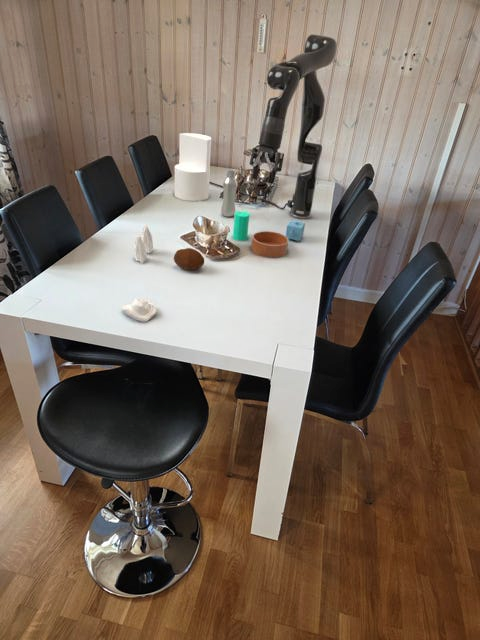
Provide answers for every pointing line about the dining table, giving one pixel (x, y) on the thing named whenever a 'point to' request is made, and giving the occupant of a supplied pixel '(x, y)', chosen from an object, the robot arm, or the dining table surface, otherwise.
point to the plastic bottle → (229, 194)
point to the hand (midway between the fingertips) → (262, 181)
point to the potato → (189, 259)
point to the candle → (241, 225)
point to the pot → (269, 244)
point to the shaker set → (143, 245)
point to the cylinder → (193, 167)
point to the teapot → (295, 230)
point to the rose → (140, 310)
